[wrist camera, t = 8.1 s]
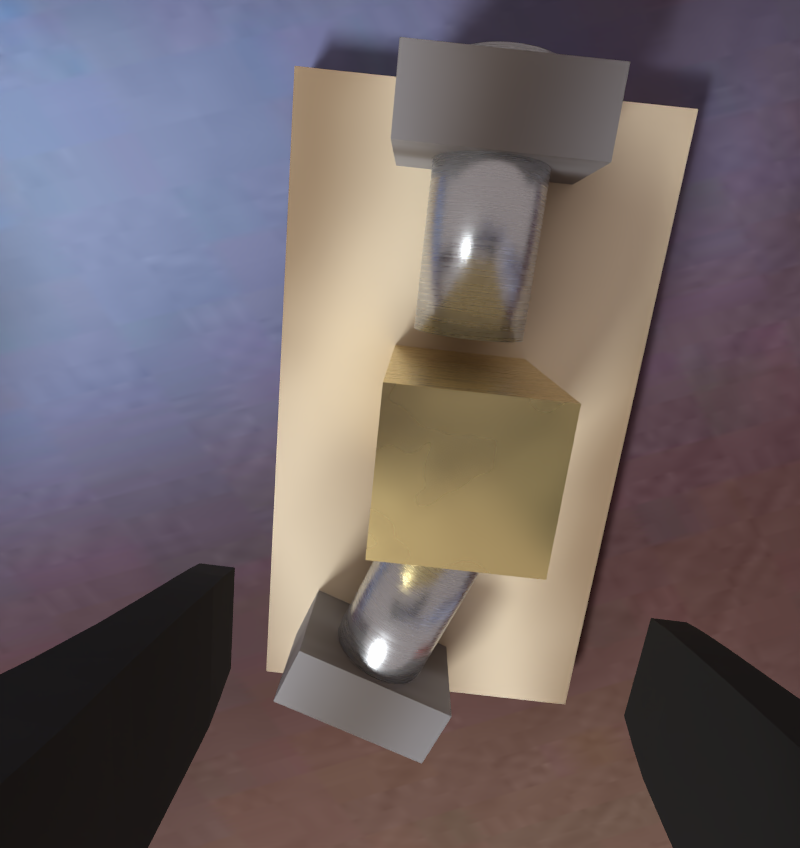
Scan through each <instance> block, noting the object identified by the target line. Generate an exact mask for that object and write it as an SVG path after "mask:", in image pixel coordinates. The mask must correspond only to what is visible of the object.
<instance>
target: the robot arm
mask: <svg viewBox="0 0 800 848" xmlns="http://www.w3.org/2000/svg"><path fill="white" fill-rule="evenodd" d="M234 572H235V568H233V567H225V566H216V565H208V564H198V565H196V566H194V567H192V568H190V569H188V570H187V571H185V572H183V573H182V574H180V575H178V576H176V577H175V578H173V579H171V580H170V581H168V582H167V583H165V584H163V585H162V586H160V587H158V588H157V589H155V590H153V591H152V592H150V593H148V594H147V595H145V596H143V597H142V598H140V599H138V600H137V601H135V602H133V603H132V604H130V605H128V606H127V607H125V608H123V609H122V610H120V611H118V612H116V613H115V614H113V615H111V616H110V617H108V618H106V619H105V620H103V621H101V622H99V623H98V624H96V625H94V626H92V627H90V628H88V629H87V630H85V631H83V632H81V633H79V634H77V635H75V636H74V637H72V638H70V639H68V640H66V641H64V642H62V643H61V644H59V645H57V646H55V647H53V648H51V649H49V650H48V651H46V652H44V653H42V654H40V655H38V656H36V657H35V658H33V659H31V660H29V661H27V662H25V663H23V664H21V665H19V666H17V667H15V668H13V669H10V670H8V671H6V672H4V673H2V674H0V848H148V846H149V844H150V842H151V840H152V838H153V837H154V835H155V833H156V831H157V829H158V827H159V825H160V823H161V821H162V819H163V817H164V815H165V813H166V811H167V809H168V807H169V805H170V803H171V801H172V799H173V797H174V795H175V793H176V791H177V789H178V787H179V786H180V784H181V782H182V780H183V778H184V776H185V774H186V772H187V770H188V768H189V766H190V764H191V762H192V760H193V758H194V756H195V754H196V752H197V750H198V748H199V746H200V744H201V742H202V740H203V738H204V736H205V734H206V732H207V730H208V728H209V726H210V723H211V720H212V718H213V715H214V712H215V710H216V707H217V705H218V702H219V699H220V697H221V694H222V691H223V688H224V685H225V683H226V680H227V677H228V674H229V671H230V669H231V648H232V623H233V597H234ZM624 717H625V720H626V724H627V727H628V731H629V735H630V738H631V742H632V745H633V749H634V752H635V755H636V758H637V761H638V764H639V767H640V771H641V774H642V777H643V780H644V782H645V784H646V787H647V789H648V791H649V794H650V796H651V798H652V801H653V803H654V805H655V808H656V810H657V812H658V815H659V817H660V819H661V822H662V824H663V826H664V828H665V831H666V833H667V835H668V838H669V840H670V842H671V844H672V847H673V848H800V699H799V698H797V697H796V696H795V695H793V694H792V693H790V692H789V691H787V690H786V689H785V688H783V687H782V686H780V685H779V684H777V683H776V682H775V681H773V680H772V679H770V678H769V677H768V676H766V675H765V674H763V673H762V672H760V671H759V670H758V669H756V668H755V667H753V666H752V665H751V664H749V663H748V662H746V661H745V660H743V659H742V658H741V657H739V656H738V655H736V654H735V653H733V652H732V651H731V650H729V649H728V648H726V647H725V646H723V645H722V644H720V643H719V642H717V641H716V640H714V639H713V638H711V637H710V636H708V635H707V634H705V633H704V632H702V631H700V630H699V629H697V628H695V627H694V626H692V625H690V624H688V623H687V622H679V621H670V620H662V619H654V618H651V620H650V624H649V628H648V631H647V635H646V638H645V642H644V646H643V649H642V653H641V657H640V660H639V664H638V668H637V671H636V675H635V678H634V682H633V686H632V689H631V693H630V697H629V700H628V704H627V707H626V711H625V715H624Z"/></svg>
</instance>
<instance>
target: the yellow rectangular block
mask: <svg viewBox="0 0 800 848" xmlns="http://www.w3.org/2000/svg"><path fill="white" fill-rule="evenodd" d="M580 407H581V403H579V402H578V401H577V400H576V399H574V398H573V397H572V396H571V395H569V394H568V393H567V392H566V391H564V390H563V389H562V388H561V387H559V386H558V385H557V384H556V383H554V382H553V381H552V380H551V379H549V378H548V377H547V376H546V375H544V374H543V373H542V372H541V371H539V370H538V369H537V368H536V367H534V366H533V365H532V364H531V363H529V362H528V361H527V360H526V359H520V358H511V357H502V356H493V355H484V354H474V353H465V352H456V351H447V350H438V349H429V348H420V347H410V346H401V345H395V347H394V350H393V353H392V356H391V359H390V362H389V365H388V368H387V371H386V374H385V377H384V380H383V386H382V396H381V406H380V416H379V427H378V437H377V447H376V457H375V467H374V478H373V488H372V498H371V508H370V518H369V529H368V539H367V549H366V559H365V560H370V561H379V562H388V563H397V564H406V565H415V566H424V567H434V568H443V569H452V570H461V571H470V572H479V573H488V574H497V575H506V576H515V577H524V578H533V579H542V580H546V578H547V573H548V568H549V563H550V558H551V553H552V548H553V543H554V538H555V533H556V528H557V523H558V518H559V513H560V508H561V503H562V498H563V493H564V488H565V483H566V478H567V473H568V468H569V463H570V458H571V453H572V448H573V442H574V437H575V432H576V427H577V422H578V417H579V412H580Z"/></svg>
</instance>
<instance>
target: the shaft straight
mask: <svg viewBox="0 0 800 848" xmlns="http://www.w3.org/2000/svg"><path fill="white" fill-rule="evenodd" d="M470 45H479V46H488V47H498V48H507V49H517V50H526V51H535V52H545V53H553V52H551V51H549V50H546V49H543V48H540V47H537V46H533V45H528V44H522V43H515V42H481V43H474V44H470ZM554 54H555V53H554ZM550 172H551V167H550V166H549V165H548V164H546V163H545V162H542V161H540V160H537V159H533V158H530V157H525V156H520V155H515V154H509V153H501V152H490V151H453V152H446V153H441V154H438V155H436V156H434V157H433V161H432V171H431V180H430V189H429V198H428V207H427V216H426V225H425V234H424V243H423V252H422V261H421V270H420V279H419V288H418V298H417V307H416V316H415V325H414V328H415V329H416V330H419V331H422V332H426V333H431V334H436V335H441V336H447V337H454V338H461V339H469V340H478V341H490V342H522V341H523V337H524V331H525V325H526V319H527V313H528V307H529V301H530V295H531V288H532V282H533V276H534V270H535V264H536V258H537V252H538V246H539V240H540V233H541V227H542V221H543V215H544V209H545V203H546V197H547V191H548V185H549V179H550Z"/></svg>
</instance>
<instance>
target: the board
mask: <svg viewBox="0 0 800 848" xmlns="http://www.w3.org/2000/svg"><path fill="white" fill-rule="evenodd" d="M629 66H630V62H629V61H620V60H610V59H601V58H592V57H582V56H573V55H563V54H554V53H545V52H535V51H526V50H517V49H507V48H498V47H488V46H479V45H470V44H460V43H451V42H442V41H432V40H423V39H414V38H404V37H400V41H399V52H398V63H397V74H396V77H393V76H384V75H374V74H365V73H356V72H346V71H337V70H328V69H318V68H309V67H300V66H295V70H294V91H293V112H292V134H291V155H290V177H289V198H288V220H287V241H286V263H285V284H284V306H283V327H282V349H281V370H280V392H279V413H278V435H277V456H276V478H275V499H274V520H273V542H272V563H271V585H270V606H269V628H268V649H267V671H271V672H280V673H283V675H282V678H281V681H280V684H279V686H278V689H277V692H276V695H275V698H274V702H277V703H279V704H281V705H284V706H286V707H288V708H291V709H293V710H296V711H298V712H300V713H303V714H305V715H308V716H310V717H312V718H315V719H317V720H319V721H322V722H324V723H327V724H329V725H331V726H334V727H336V728H338V729H341V730H343V731H346V732H348V733H350V734H353V735H355V736H358V737H360V738H362V739H365V740H367V741H369V742H372V743H374V744H377V745H379V746H381V747H384V748H386V749H388V750H391V751H393V752H396V753H398V754H400V755H403V756H405V757H408V758H410V759H412V760H415V761H417V762H419V763H422V762H423V761H424V759H425V757H426V756H427V754H428V753H429V751H430V749H431V748H432V746H433V745H434V743H435V742H436V740H437V738H438V737H439V735H440V734H441V732H442V731H443V729H444V727H445V726H446V724H447V723H448V721H449V719H450V718H451V704H450V692H459V693H468V694H477V695H486V696H495V697H504V698H513V699H522V700H531V701H540V702H549V703H558V704H565V702H566V697H567V693H568V688H569V684H570V680H571V675H572V671H573V666H574V662H575V657H576V653H577V648H578V644H579V639H580V635H581V630H582V626H583V622H584V617H585V613H586V608H587V604H588V599H589V595H590V590H591V586H592V581H593V577H594V572H595V568H596V564H597V559H598V555H599V550H600V546H601V541H602V537H603V532H604V528H605V523H606V519H607V514H608V510H609V505H610V501H611V497H612V492H613V488H614V483H615V479H616V474H617V470H618V465H619V461H620V456H621V452H622V447H623V443H624V439H625V434H626V430H627V425H628V421H629V416H630V412H631V407H632V403H633V398H634V394H635V389H636V385H637V381H638V376H639V372H640V367H641V363H642V358H643V354H644V349H645V345H646V340H647V336H648V331H649V327H650V322H651V318H652V314H653V309H654V305H655V300H656V296H657V291H658V287H659V282H660V278H661V273H662V269H663V264H664V260H665V256H666V251H667V247H668V242H669V238H670V233H671V229H672V224H673V220H674V215H675V211H676V206H677V202H678V197H679V193H680V189H681V184H682V180H683V175H684V171H685V166H686V162H687V157H688V153H689V148H690V144H691V139H692V135H693V131H694V126H695V122H696V117H697V113H698V109H692V108H683V107H673V106H664V105H655V104H645V103H636V102H627V101H623V98H624V93H625V87H626V82H627V77H628V72H629ZM453 151H490V152H501V153H509V154H515V155H520V156H525V157H530V158H533V159H537V160H540V161H542V162H545V163H546V164H548V165H549V166H550V167H551V172H550V179H549V185H548V191H547V197H546V203H545V209H544V215H543V221H542V227H541V233H540V240H539V246H538V252H537V258H536V264H535V270H534V276H533V282H532V288H531V295H530V301H529V307H528V313H527V319H526V325H525V331H524V337H523V341H522V342H490V341H478V340H469V339H461V338H454V337H447V336H441V335H436V334H431V333H426V332H422V331H419V330H416V329H415V328H414V325H415V316H416V307H417V298H418V288H419V279H420V270H421V261H422V252H423V243H424V234H425V225H426V216H427V207H428V198H429V189H430V180H431V171H432V161H433V157H434V156H436V155H438V154H441V153H446V152H453ZM395 345H401V346H410V347H420V348H429V349H438V350H447V351H456V352H465V353H474V354H484V355H493V356H502V357H511V358H520V359H526V360H527V361H528V362H529V363H531V364H532V365H533V366H534V367H536V368H537V369H538V370H539V371H541V372H542V373H543V374H544V375H546V376H547V377H548V378H549V379H551V380H552V381H553V382H554V383H556V384H557V385H558V386H559V387H561V388H562V389H563V390H564V391H566V392H567V393H568V394H569V395H571V396H572V397H573V398H574V399H576V400H577V401H578V402H579V403H581V407H580V412H579V417H578V422H577V427H576V432H575V437H574V442H573V448H572V453H571V458H570V463H569V468H568V473H567V478H566V483H565V488H564V493H563V498H562V503H561V508H560V513H559V518H558V523H557V528H556V533H555V538H554V543H553V548H552V553H551V558H550V563H549V568H548V573H547V578H546V580H542V579H533V578H524V577H515V576H506V575H497V574H488V573H479V574H478V576H477V577H476V579H475V581H474V582H473V584H472V586H471V587H470V589H469V591H468V592H467V594H466V596H465V597H464V599H463V601H462V602H461V604H460V606H459V608H458V609H457V611H456V613H455V614H454V616H453V618H452V619H451V621H450V623H449V624H448V626H447V628H446V629H445V631H444V633H443V634H442V636H441V638H440V639H439V641H438V643H437V644H436V646H435V648H434V649H433V651H432V653H431V654H430V656H429V658H428V660H427V661H426V663H425V665H424V666H423V668H422V670H421V671H420V673H419V675H418V676H417V677H416V678H415V679H414V680H413V681H411V682H408V683H404V684H392V683H387V682H383V681H380V680H377V679H375V678H373V677H371V676H369V675H368V674H366V673H364V672H363V671H362V670H360V669H359V668H358V667H357V666H356V665H354V663H353V662H352V661H351V660H350V659H349V658H348V657H347V656H346V654H345V652H344V651H343V649H342V647H341V645H340V642H339V638H338V628H339V625H340V623H341V621H342V619H343V617H344V615H345V613H346V612H347V610H348V608H349V606H350V604H351V602H352V600H353V598H354V597H355V595H356V593H357V591H358V589H359V587H360V585H361V583H362V581H363V580H364V578H365V576H366V574H367V572H368V570H369V568H370V566H371V565H372V563H373V561H370V560H365V559H366V549H367V539H368V529H369V518H370V508H371V498H372V488H373V478H374V467H375V457H376V447H377V437H378V427H379V416H380V406H381V396H382V386H383V380H384V377H385V374H386V371H387V368H388V365H389V362H390V359H391V356H392V353H393V350H394V347H395Z"/></svg>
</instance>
